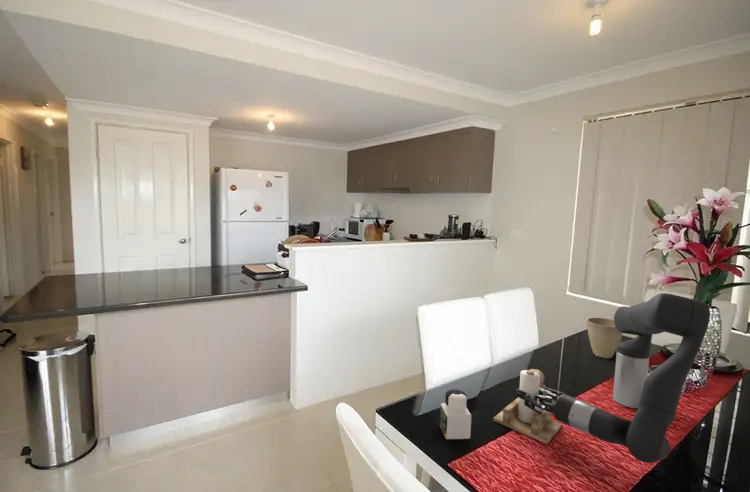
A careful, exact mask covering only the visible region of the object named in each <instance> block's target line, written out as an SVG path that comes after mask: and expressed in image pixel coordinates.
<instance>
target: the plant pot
mask: <svg viewBox="0 0 750 492" xmlns="http://www.w3.org/2000/svg"><path fill="white" fill-rule="evenodd" d="M586 325H587V326H586V327H587V334H588V339H589V344H590V347H591V351H592V354H593V355H594V354H595V355H594V356H596V357H598V356H599V357H598V358H601V357H602V358H601V359H612V358H613V356H614V355H615V352H617V345H618V343H620V342H621V340H622V337H623V334H624V333H621V332H619V331H618V330H617V329H616V327H615V324H614V319H611V318H605V317H588V318H586Z"/></svg>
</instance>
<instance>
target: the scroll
mask: <svg viewBox="0 0 750 492" xmlns="http://www.w3.org/2000/svg"><path fill="white" fill-rule="evenodd" d="M529 370H530V371H534V372H537V373H539V374H540V382H539V388H543V389H544V387H546V385H545V384H544V382H545V379H546V378H545V375H544V373H543V372H542V371H541V370H539V369H538V368H536V369H535V368H531V369H529ZM538 402H539V398H538Z"/></svg>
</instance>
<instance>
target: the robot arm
mask: <svg viewBox="0 0 750 492" xmlns="http://www.w3.org/2000/svg"><path fill="white" fill-rule="evenodd" d="M613 320H614V324H615V327H616V329H617V330H618V331H619V332H621V333H623V334H626V335H634V336H636V337H634V338H632V339H630V340H625V341H624V340H623V341H620V342H619V343H618V345H617V349H616V354H615V356H616V357H615V367H614V369H615V370H614V381H613V382H614V383H613V391H612V392H613V393H612V399H613V400H614V402H616V403H617V404H619V405H622V406H624V407H628V408H630V409H637V410H636V412H635V413H634V415H633V418H632V420H629V419H626V418H623V417H621V416H617V415H616V414H613V413H611V412H608V411H606V410H603V409H601V408H599V407H596V406H595V405H593V404H591V403H588V402H586V401H584V400H581V399H580V398H579V399H578V398H576V397H574V396H573V395H569V394H567V393H565V392H563V391H560V390H557V389H553V388H550V387H548V386H547V387H544V389H543V388H539V394H535V395H532V394H528V393H526V392H524V391H522V390H520V388H516V389H514V396H515V397H517V398H518V397H519V398H521V399H523V400H524V405H525V406H527V407H528V408H530V409H532V410H533V411H535V412H536V413H538V414H542V411H543V410H545V411H548V412H551V413H552V415H553V416H554V418H555V419H556V420H557V422H561V424H564V425H567V426H570V427H571V428H573V429H576V430H577V431H580V432H582V433H585V434H588V435H590V436H593V437H594V438H598V439H600V440H602V441H604V442H606V443H609V444H614V445H615V444H616V445H620V446H623V447H625V448H627V450H628V452H629V453H630V455H631V456H633V457H634V458H635V459H636V460H637V461H639V462H641V463H646V464H651V463H656V462H658V461H659V462H660V461H662V460H664V459H666V458H667V457H668V456H669V454H670V453H671V444H670V442H669V440H668V439H667V437H666V435H667V432H668V428H669V427H670V425H672V423H673V422H674V420H675V418H676V415H677V412H678V411H677V410H678V407H679V403H680V398H681V394H682V391H683V388H684V385H685V382H686V380H687V377H688V375H689V373H690V370H691V369H692V366H693V364H694V361H695V360H696V357H697V356H698V352H699V350H700V347H701V346H702V343H703V341H704V338H705V336H706V333H707V331H708V327H709V324H710V320H711V310H710V306H709V305H708V304H707V303H706V302H704V301H702V300H697V299H693V298H689V297H684V296H680V295H677V294H671V293H666V292H665V293H663V292H662V293H658V294H656V295H654V296H653V297H651V298H650V299H648V300H647V301H643V302H640V303H637V304H634V305H631V306H620V307H618V308H617V309H616V311H615V313H614V315H613ZM664 332H665V333H669V334H672V335H675V336H680V337H682V339H681V342H680V344H679V346H678V348H677V349H676V350H675V352H674V353H672V355H670V357H668V358H667V359H665V361H664V362H662V363H661V364H660V365H658V366H656V367H655V369H653V370H652V371H651V372H650V373H649V366H650V365H649V364H650V363H649V362H650V356H651V355H650V354H651V349H652V348H651V347H652V339H653V335H659V334H662V333H664ZM530 397H531V398H530ZM532 398H534V400H533V399H532ZM538 398H539V402H537V400H538ZM538 414H537V415H538Z"/></svg>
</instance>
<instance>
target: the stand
mask: <svg viewBox="0 0 750 492" xmlns="http://www.w3.org/2000/svg"><path fill="white" fill-rule="evenodd" d="M518 408H519V397H517V398H516V399H514V400H513V401H512V402H511V403H509V404H508V405H507V406H505V407H504V408H502V410H501V411H500V412H499V413H497V414H496V415H495V416H493V418H492V419H493V420H492V421H493V422H495V423H496V424H499V425H501V426H505V427H507V428H509V429H511V430H513V431H516V432H518V433H521V434H522V435H525V436H527V437H530V438H531V439H535V440H536V441H539V442H542V443H544V444H548V443H549V442H550V441H551V440H552V438H554V436H555V435H556V434H557V433H558V432H559V431H560V429H561V428H562V424H563V423H559V421H555V420H552V415H553V413H551V412H548V411H545V410H543V411H542V414H537V416H536V417H535V418H534V419H533V420H532V423H527V422H524V421H522V420H520V419H519V418H518Z"/></svg>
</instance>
